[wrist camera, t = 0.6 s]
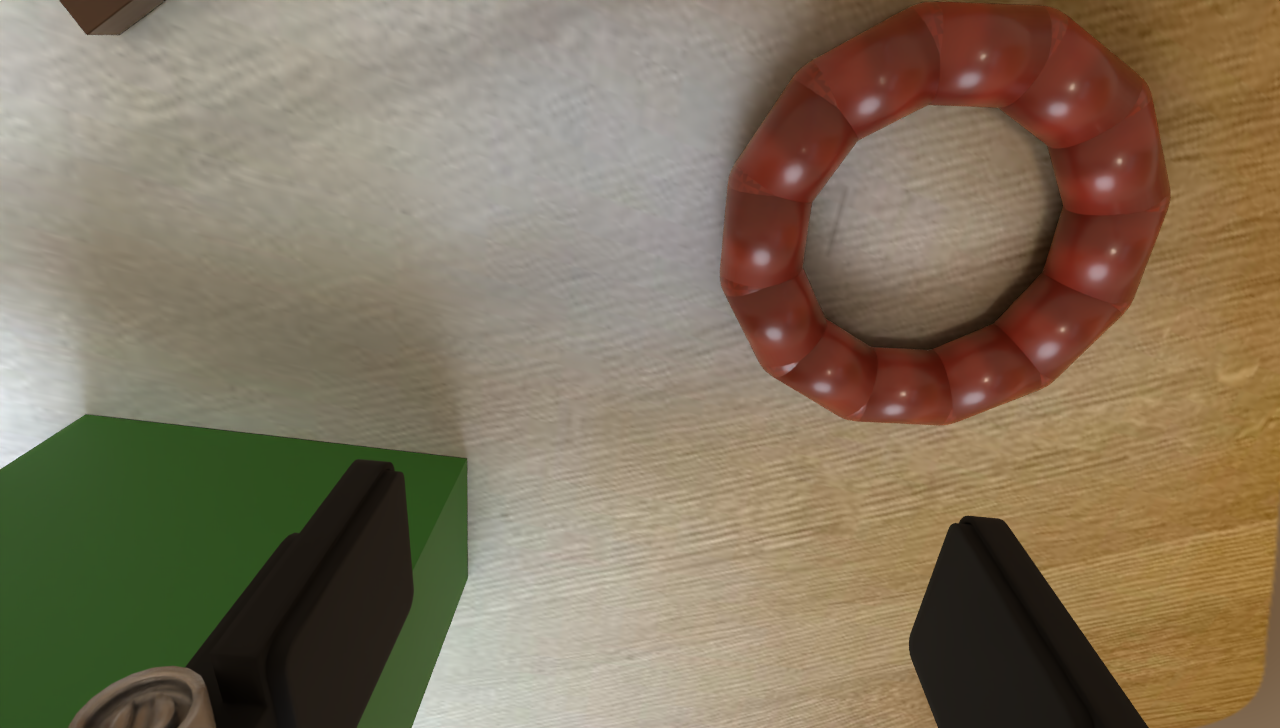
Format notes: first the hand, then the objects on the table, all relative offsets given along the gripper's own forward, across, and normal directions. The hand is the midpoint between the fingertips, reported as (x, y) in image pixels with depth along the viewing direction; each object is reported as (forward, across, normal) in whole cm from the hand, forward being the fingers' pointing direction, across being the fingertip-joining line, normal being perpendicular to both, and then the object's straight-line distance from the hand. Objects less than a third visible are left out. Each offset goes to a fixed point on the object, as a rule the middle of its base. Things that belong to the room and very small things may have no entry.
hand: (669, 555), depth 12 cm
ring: (+15, -9, -2) cm, 18 cm away
